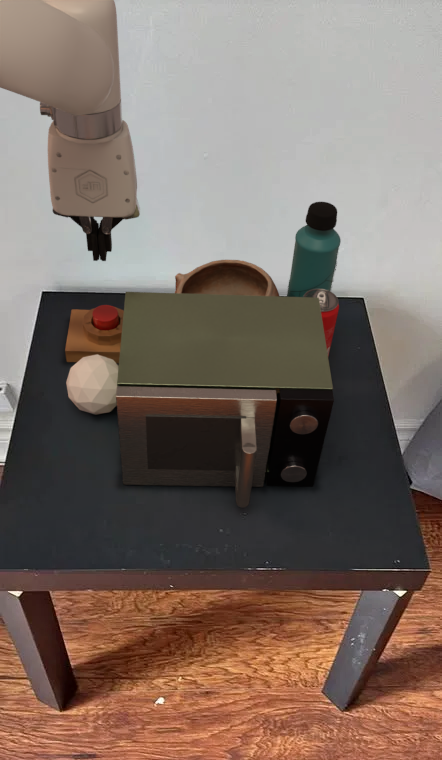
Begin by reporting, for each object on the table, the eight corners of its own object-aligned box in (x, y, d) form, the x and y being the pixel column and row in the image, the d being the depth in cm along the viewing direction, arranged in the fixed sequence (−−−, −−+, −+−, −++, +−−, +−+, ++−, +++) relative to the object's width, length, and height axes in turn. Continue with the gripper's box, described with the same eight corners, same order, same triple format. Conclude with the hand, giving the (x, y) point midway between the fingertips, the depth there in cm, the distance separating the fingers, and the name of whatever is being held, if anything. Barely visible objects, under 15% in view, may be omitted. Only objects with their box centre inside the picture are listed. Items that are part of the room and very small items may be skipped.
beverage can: (288, 375, 108) (299, 308, 98) (292, 351, 111) (303, 284, 101) (323, 381, 107) (338, 314, 98) (327, 356, 110) (341, 290, 101)
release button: (117, 331, 106) (117, 321, 105) (92, 330, 106) (91, 320, 104) (119, 314, 108) (118, 305, 107) (94, 313, 108) (93, 304, 107)
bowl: (166, 306, 115) (165, 251, 108) (265, 301, 118) (272, 246, 110) (178, 377, 106) (179, 322, 98) (286, 370, 108) (295, 315, 100)
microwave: (313, 492, 95) (335, 404, 82) (122, 489, 93) (115, 399, 81) (301, 388, 106) (318, 297, 93) (131, 384, 105) (125, 291, 92)
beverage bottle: (292, 344, 112) (312, 226, 96) (274, 317, 115) (290, 198, 100) (331, 335, 113) (357, 217, 98) (312, 308, 117) (333, 191, 101)
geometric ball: (89, 427, 103) (49, 405, 97) (96, 374, 105) (58, 349, 99) (134, 419, 99) (96, 396, 93) (140, 365, 102) (103, 338, 95)
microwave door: (265, 521, 91) (280, 436, 79) (120, 519, 90) (112, 432, 78) (262, 477, 96) (276, 389, 83) (123, 474, 95) (116, 385, 82)
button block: (144, 364, 107) (143, 342, 104) (66, 362, 107) (63, 340, 104) (146, 322, 113) (145, 301, 110) (73, 320, 112) (70, 299, 109)
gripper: (15, 128, 81) (39, 270, 95) (154, 134, 82) (156, 274, 96) (25, 96, 86) (46, 236, 100) (156, 101, 86) (158, 239, 101)
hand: (100, 254), depth 98 cm, fingers closed
